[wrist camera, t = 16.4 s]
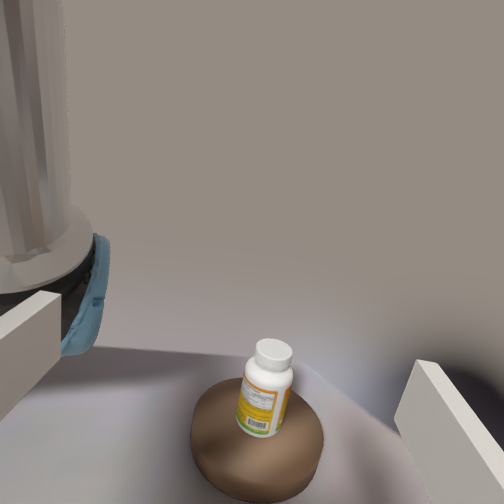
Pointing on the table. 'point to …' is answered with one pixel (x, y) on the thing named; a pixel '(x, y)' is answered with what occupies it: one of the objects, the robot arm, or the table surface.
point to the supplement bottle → (265, 389)
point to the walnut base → (254, 447)
